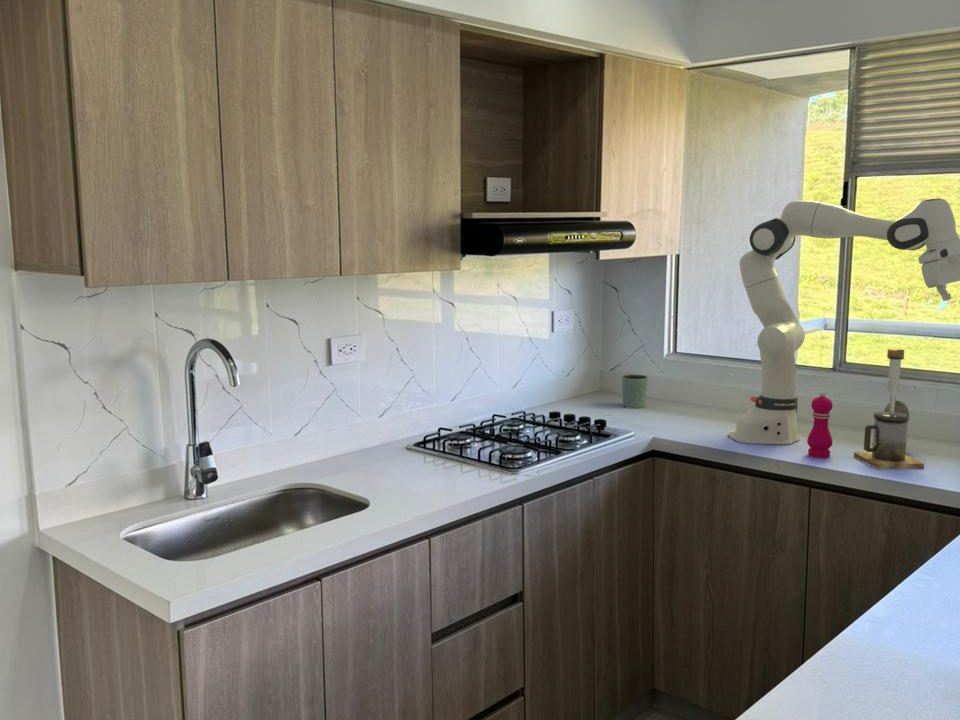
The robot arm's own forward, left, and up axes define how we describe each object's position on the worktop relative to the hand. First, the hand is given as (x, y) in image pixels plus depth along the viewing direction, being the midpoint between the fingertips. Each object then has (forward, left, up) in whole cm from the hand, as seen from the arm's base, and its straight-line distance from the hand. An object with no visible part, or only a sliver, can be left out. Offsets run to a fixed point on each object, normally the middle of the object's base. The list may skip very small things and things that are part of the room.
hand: (956, 297), depth 252 cm
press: (-19, -1, -48) cm, 51 cm away
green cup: (-74, +86, -49) cm, 124 cm away
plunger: (-18, -1, -27) cm, 33 cm away
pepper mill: (-35, +8, -49) cm, 61 cm away
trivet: (-18, -1, -49) cm, 52 cm away
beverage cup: (-8, +14, -49) cm, 52 cm away
